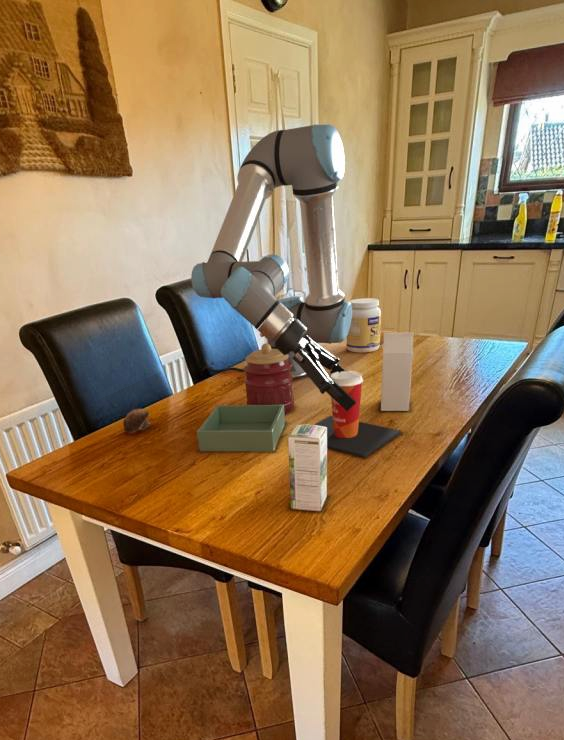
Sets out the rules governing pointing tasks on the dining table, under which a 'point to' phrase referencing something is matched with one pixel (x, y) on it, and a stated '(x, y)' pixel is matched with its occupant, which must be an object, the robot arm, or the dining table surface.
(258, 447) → the crate
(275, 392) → the kitchen canister
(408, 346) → the milk carton
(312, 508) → the syrup box
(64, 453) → the dining table surface
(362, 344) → the supplement tub
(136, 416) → the toy hedgehog
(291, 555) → the dining table surface
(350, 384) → the paper cup
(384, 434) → the placemat
